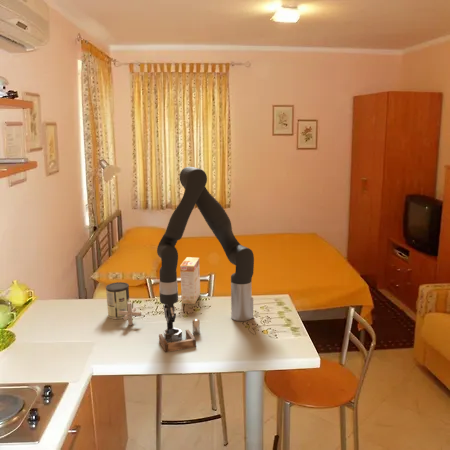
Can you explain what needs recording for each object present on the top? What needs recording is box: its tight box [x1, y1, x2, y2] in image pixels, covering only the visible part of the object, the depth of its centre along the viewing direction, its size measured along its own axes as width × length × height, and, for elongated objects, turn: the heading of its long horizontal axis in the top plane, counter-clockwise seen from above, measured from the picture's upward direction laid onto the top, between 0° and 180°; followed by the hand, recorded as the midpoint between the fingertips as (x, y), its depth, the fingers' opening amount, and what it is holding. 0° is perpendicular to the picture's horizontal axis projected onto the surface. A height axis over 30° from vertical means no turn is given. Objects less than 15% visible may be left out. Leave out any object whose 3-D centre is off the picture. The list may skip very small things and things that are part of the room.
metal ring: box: [163, 327, 183, 343], centre depth 196 cm, size 7×7×3 cm
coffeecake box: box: [179, 256, 201, 305], centre depth 239 cm, size 15×7×20 cm, turn 172°
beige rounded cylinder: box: [191, 318, 201, 336], centre depth 200 cm, size 3×3×6 cm
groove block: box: [158, 329, 197, 353], centre depth 191 cm, size 12×10×3 cm
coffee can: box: [105, 281, 130, 320], centre depth 220 cm, size 10×10×14 cm
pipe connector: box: [118, 301, 142, 326], centre depth 209 cm, size 10×10×10 cm
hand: (170, 329), depth 200 cm, fingers closed
